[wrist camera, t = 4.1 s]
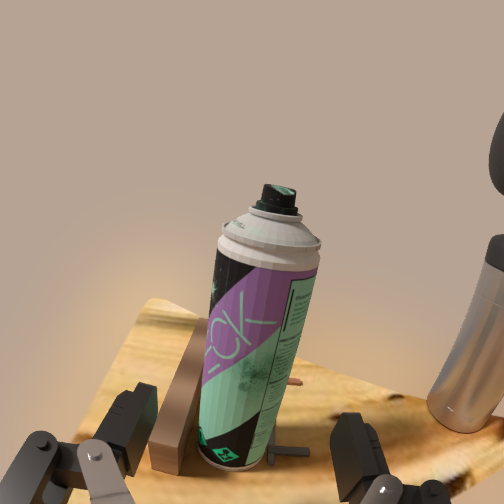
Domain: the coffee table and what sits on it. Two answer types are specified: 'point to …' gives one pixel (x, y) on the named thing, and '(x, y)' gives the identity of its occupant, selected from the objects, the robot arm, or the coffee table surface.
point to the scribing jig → (192, 410)
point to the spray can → (254, 327)
